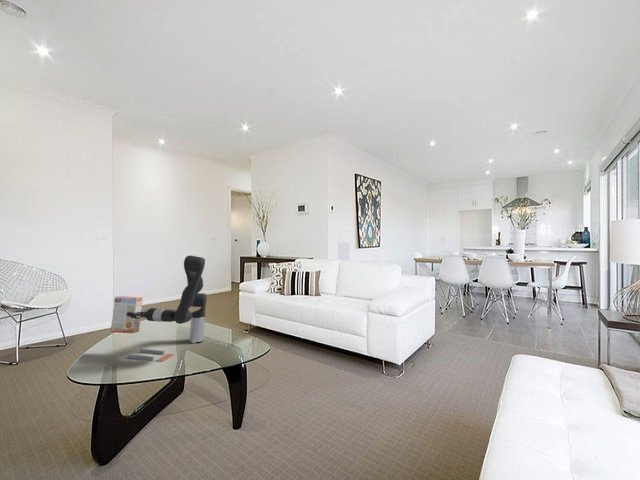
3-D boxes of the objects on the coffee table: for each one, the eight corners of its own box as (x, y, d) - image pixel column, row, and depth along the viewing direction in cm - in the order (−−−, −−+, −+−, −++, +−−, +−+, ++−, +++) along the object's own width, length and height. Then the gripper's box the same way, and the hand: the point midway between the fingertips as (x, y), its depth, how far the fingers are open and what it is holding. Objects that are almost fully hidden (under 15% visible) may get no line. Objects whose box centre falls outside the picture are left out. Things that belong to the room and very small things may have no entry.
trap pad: (167, 354, 183) (167, 353, 183) (173, 354, 182) (173, 354, 182) (155, 361, 172) (155, 360, 172) (162, 361, 171) (162, 361, 171)
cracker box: (139, 331, 181) (143, 296, 184) (132, 333, 175) (136, 297, 178) (117, 330, 182) (121, 295, 185) (110, 332, 177) (114, 296, 179)
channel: (140, 351, 184) (140, 348, 184) (164, 354, 183) (164, 350, 183) (127, 357, 174) (127, 354, 174) (152, 360, 172) (153, 357, 172)
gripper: (165, 306, 185) (139, 304, 187) (149, 311, 171) (122, 309, 173) (164, 318, 185) (139, 316, 187) (148, 324, 171) (121, 322, 173)
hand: (131, 312), depth 180 cm, fingers closed on cracker box, 6 cm apart
